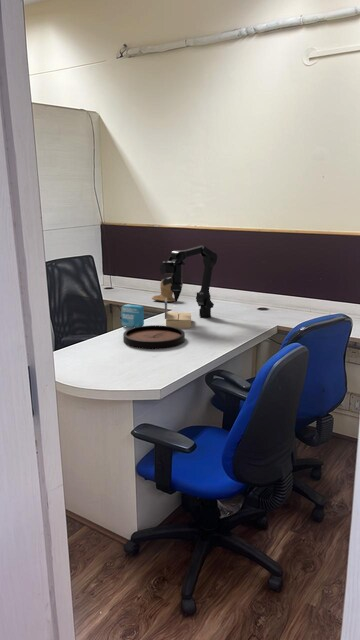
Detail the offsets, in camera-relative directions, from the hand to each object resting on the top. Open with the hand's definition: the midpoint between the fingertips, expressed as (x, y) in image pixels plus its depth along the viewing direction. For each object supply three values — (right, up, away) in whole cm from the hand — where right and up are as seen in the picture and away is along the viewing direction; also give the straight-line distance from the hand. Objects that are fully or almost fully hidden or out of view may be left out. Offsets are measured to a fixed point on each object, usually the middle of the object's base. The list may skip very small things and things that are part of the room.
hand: (176, 299), depth 283 cm
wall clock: (-11, -23, -32) cm, 41 cm away
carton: (+1, -14, 0) cm, 14 cm away
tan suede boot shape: (-8, +2, +62) cm, 63 cm away
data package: (-25, -15, -6) cm, 30 cm away
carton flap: (-3, -10, -1) cm, 10 cm away
